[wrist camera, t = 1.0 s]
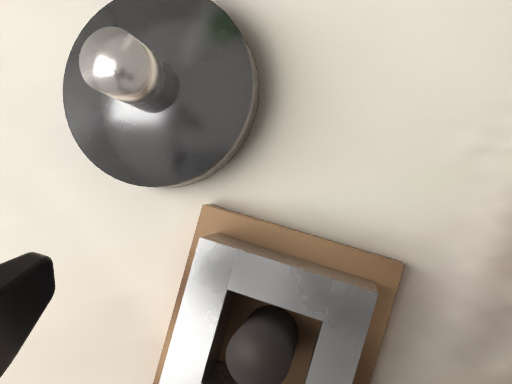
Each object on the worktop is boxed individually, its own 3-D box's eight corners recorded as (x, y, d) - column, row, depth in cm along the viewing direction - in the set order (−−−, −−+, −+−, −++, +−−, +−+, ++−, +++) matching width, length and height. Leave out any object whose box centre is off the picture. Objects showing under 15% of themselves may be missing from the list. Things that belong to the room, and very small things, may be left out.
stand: (343, 457, 20) (344, 523, 16) (158, 385, 22) (115, 429, 18) (401, 261, 20) (417, 278, 16) (209, 204, 22) (177, 205, 17)
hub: (228, 210, 21) (190, 213, 16) (61, 160, 23) (-26, 147, 18) (281, 21, 21) (260, -41, 16) (107, -16, 23) (34, -83, 17)
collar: (327, 439, 19) (325, 475, 17) (175, 381, 21) (152, 407, 18) (373, 280, 19) (378, 293, 17) (217, 232, 20) (199, 237, 18)
